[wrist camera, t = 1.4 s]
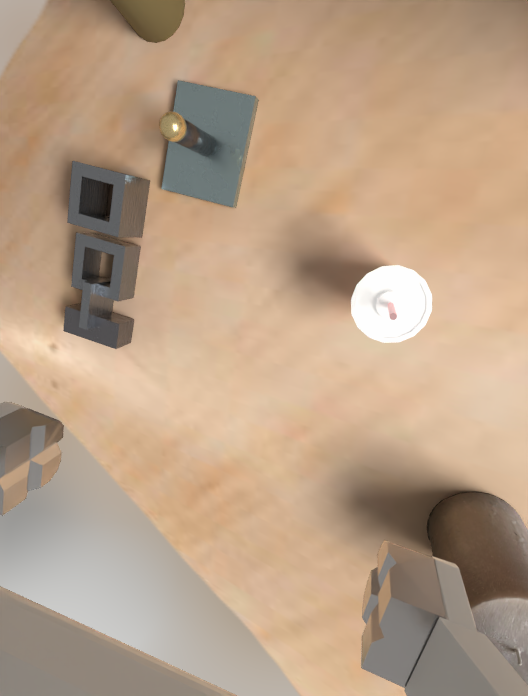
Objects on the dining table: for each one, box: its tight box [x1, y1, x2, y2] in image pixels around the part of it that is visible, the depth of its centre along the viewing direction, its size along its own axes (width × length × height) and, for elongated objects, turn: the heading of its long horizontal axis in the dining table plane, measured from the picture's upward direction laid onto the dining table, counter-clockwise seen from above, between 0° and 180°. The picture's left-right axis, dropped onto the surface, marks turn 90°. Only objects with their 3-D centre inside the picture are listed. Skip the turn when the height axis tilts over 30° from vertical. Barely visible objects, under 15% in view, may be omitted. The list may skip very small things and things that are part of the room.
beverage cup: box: [351, 265, 432, 343], centre depth 34 cm, size 6×6×14 cm
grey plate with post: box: [159, 81, 259, 208], centre depth 37 cm, size 10×8×9 cm
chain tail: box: [64, 232, 141, 349], centre depth 46 cm, size 12×7×4 cm, turn 166°
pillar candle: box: [427, 492, 528, 685], centre depth 37 cm, size 10×10×15 cm
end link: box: [67, 161, 150, 237], centre depth 43 cm, size 6×6×4 cm
